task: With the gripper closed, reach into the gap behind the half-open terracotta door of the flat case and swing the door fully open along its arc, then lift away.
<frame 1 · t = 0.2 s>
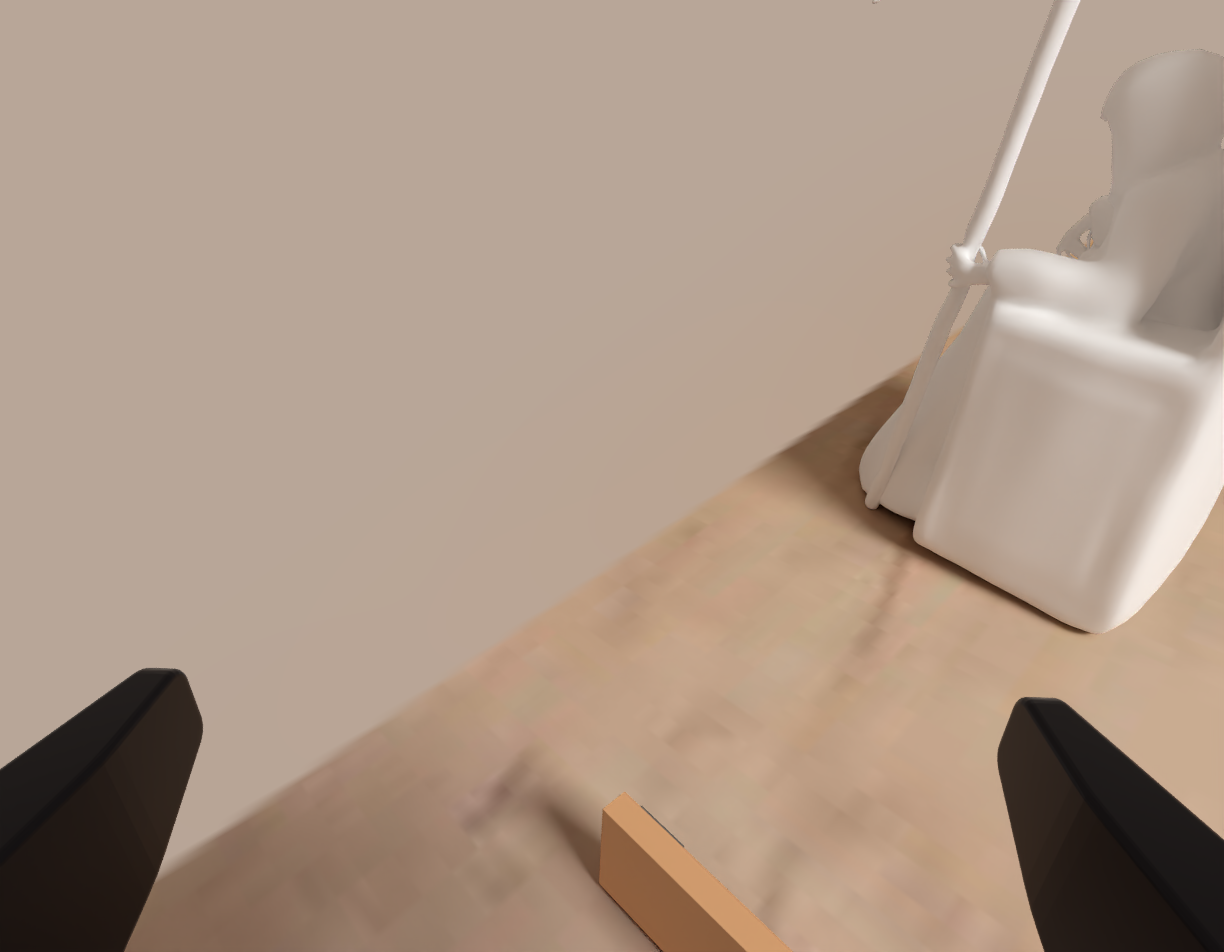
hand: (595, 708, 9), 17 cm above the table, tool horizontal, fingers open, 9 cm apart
religious statue: (995, 532, 40), on the table
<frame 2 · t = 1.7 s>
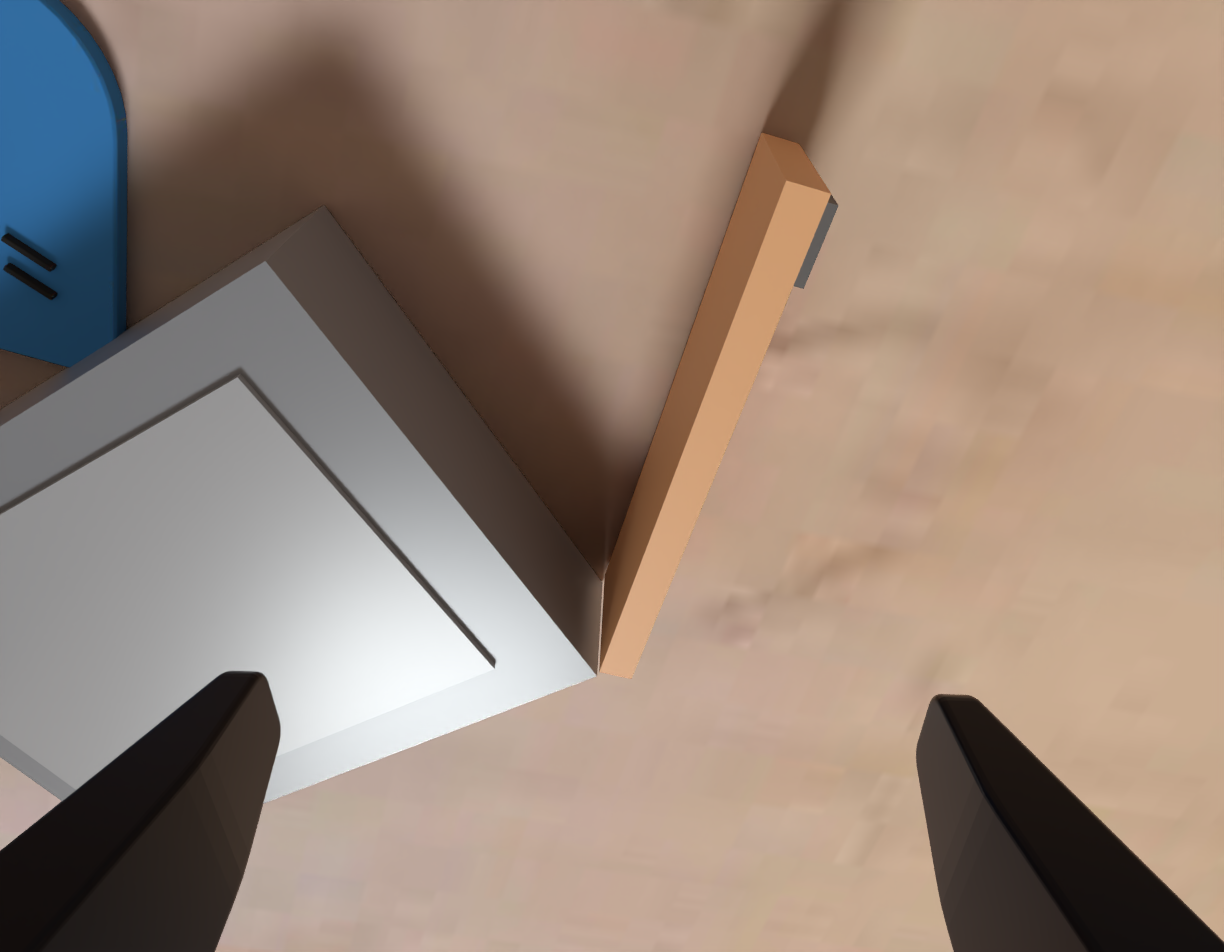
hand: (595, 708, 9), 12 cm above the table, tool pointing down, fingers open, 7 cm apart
case: (240, 540, 24), on the table
case door: (699, 433, 19), point 2 cm above the table, hinge at 45.0°
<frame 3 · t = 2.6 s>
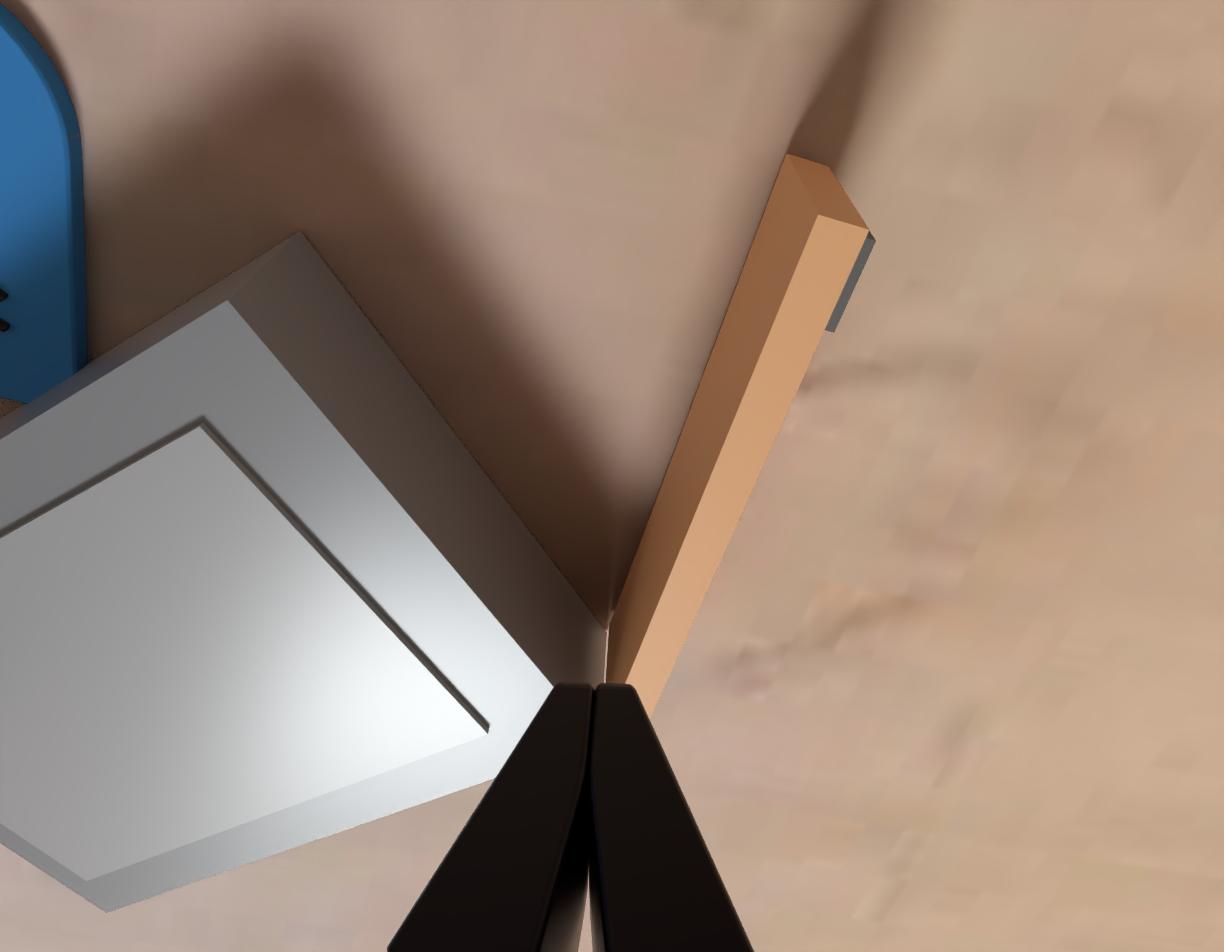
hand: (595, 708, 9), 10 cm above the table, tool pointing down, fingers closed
case: (216, 585, 22), on the table
case door: (713, 483, 17), point 2 cm above the table, hinge at 45.0°
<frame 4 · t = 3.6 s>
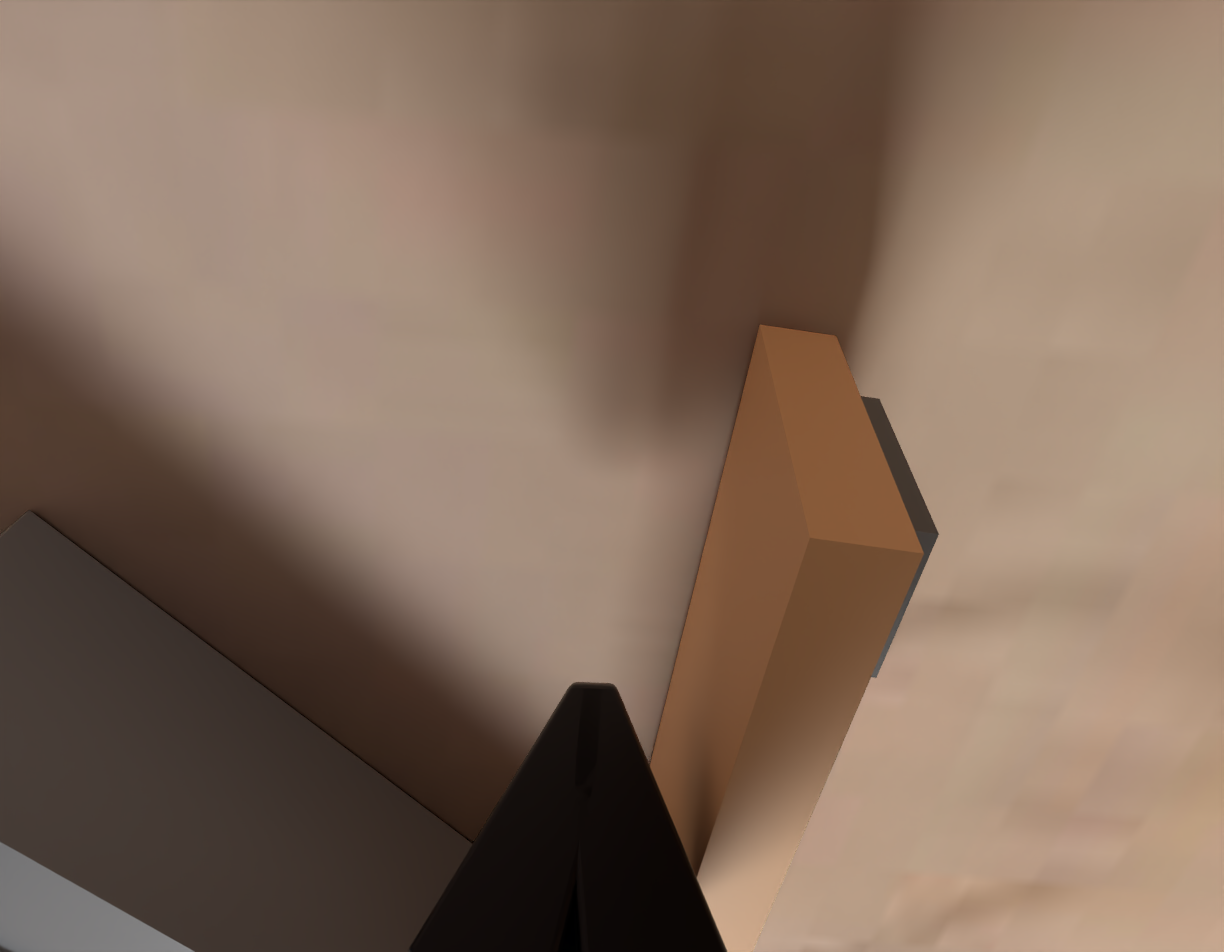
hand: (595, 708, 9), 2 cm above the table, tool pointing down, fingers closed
case: (75, 921, 16), on the table
case door: (710, 835, 11), point 2 cm above the table, hinge at 45.0°, touching gripper
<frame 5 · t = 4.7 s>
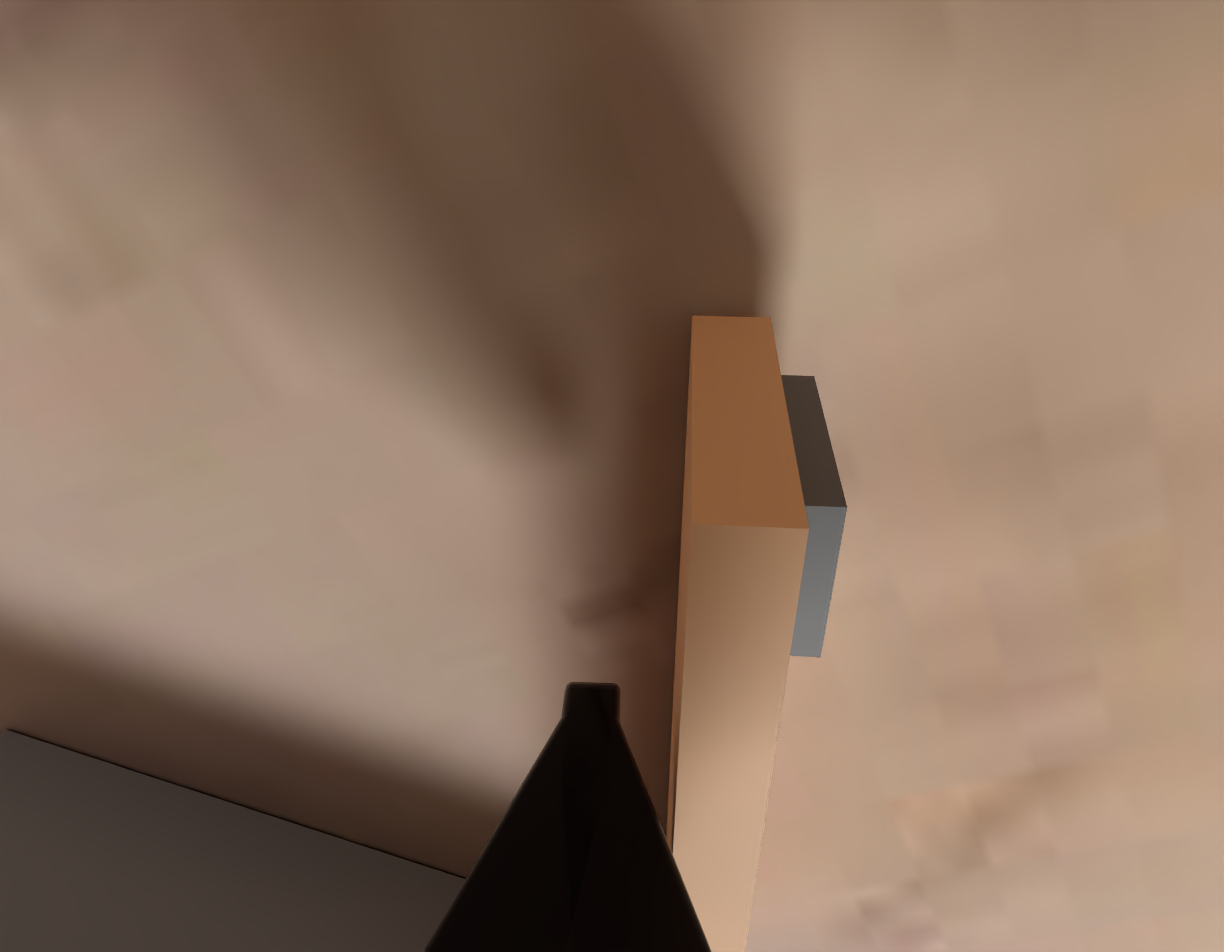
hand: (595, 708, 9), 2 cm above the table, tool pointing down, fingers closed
case door: (718, 827, 11), point 2 cm above the table, hinge at 65.3°, touching gripper
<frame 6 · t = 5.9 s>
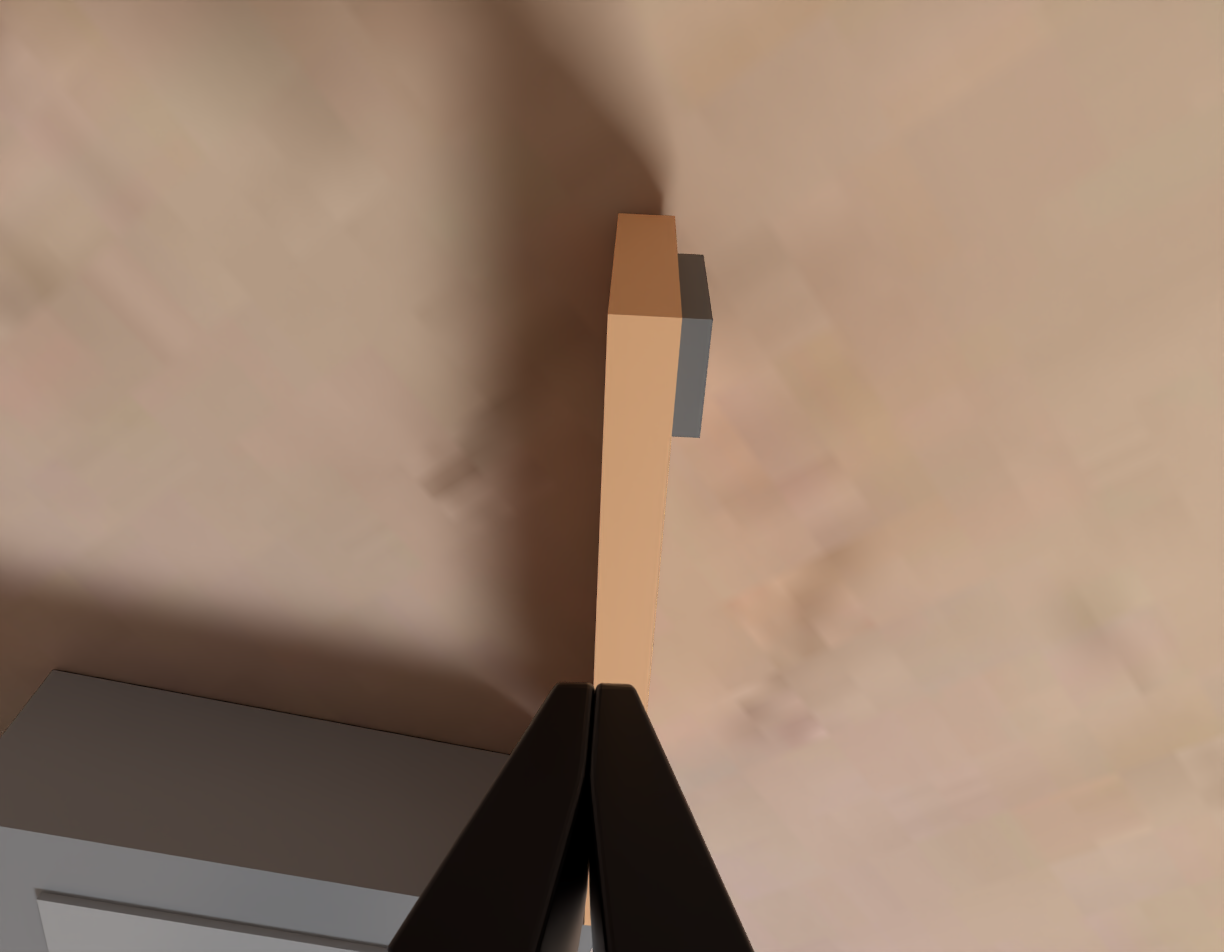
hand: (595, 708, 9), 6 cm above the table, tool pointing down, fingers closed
case: (320, 918, 23), on the table
case door: (636, 616, 14), point 2 cm above the table, hinge at 78.7°
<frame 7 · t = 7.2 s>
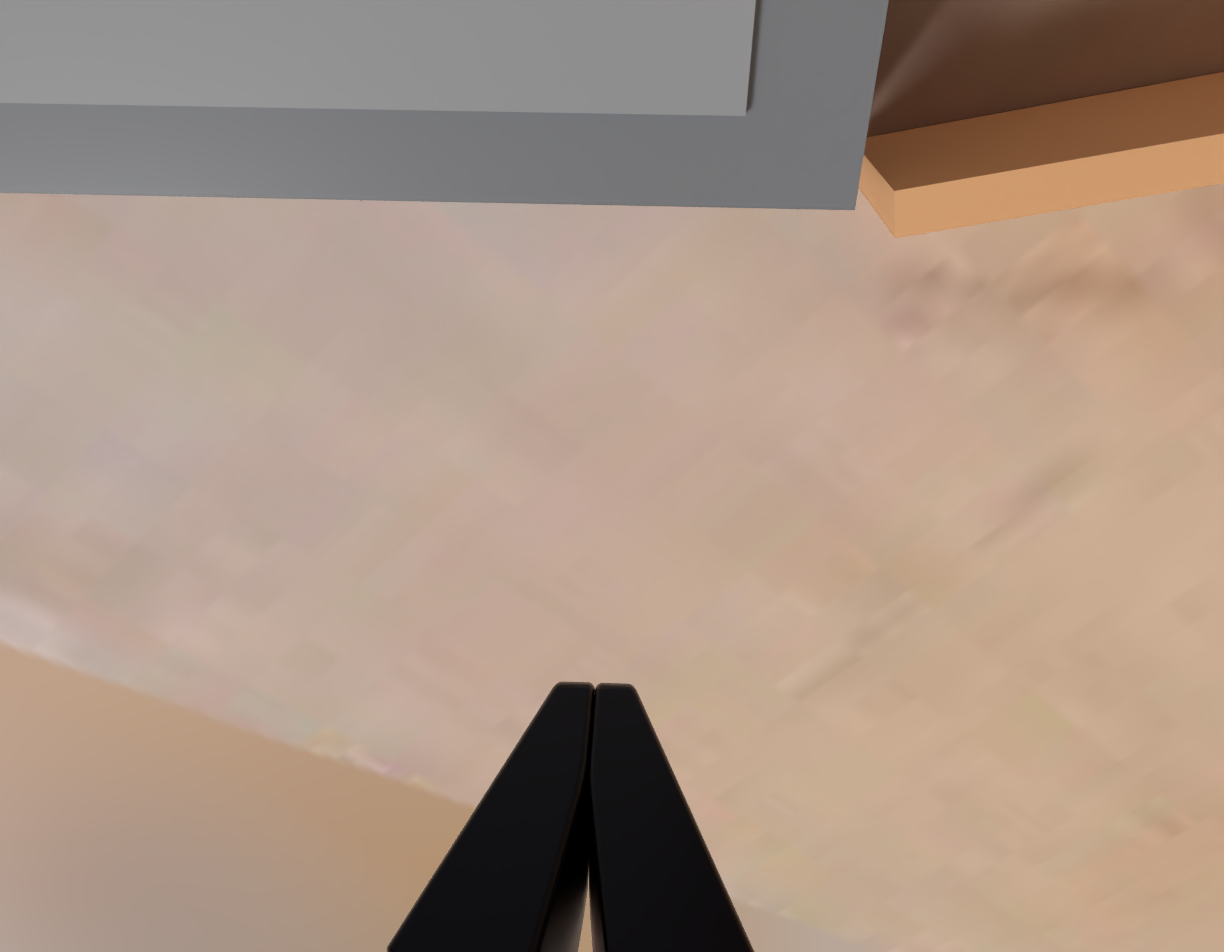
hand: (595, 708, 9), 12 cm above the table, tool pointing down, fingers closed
case door: (1220, 135, 15), point 2 cm above the table, hinge at 78.7°
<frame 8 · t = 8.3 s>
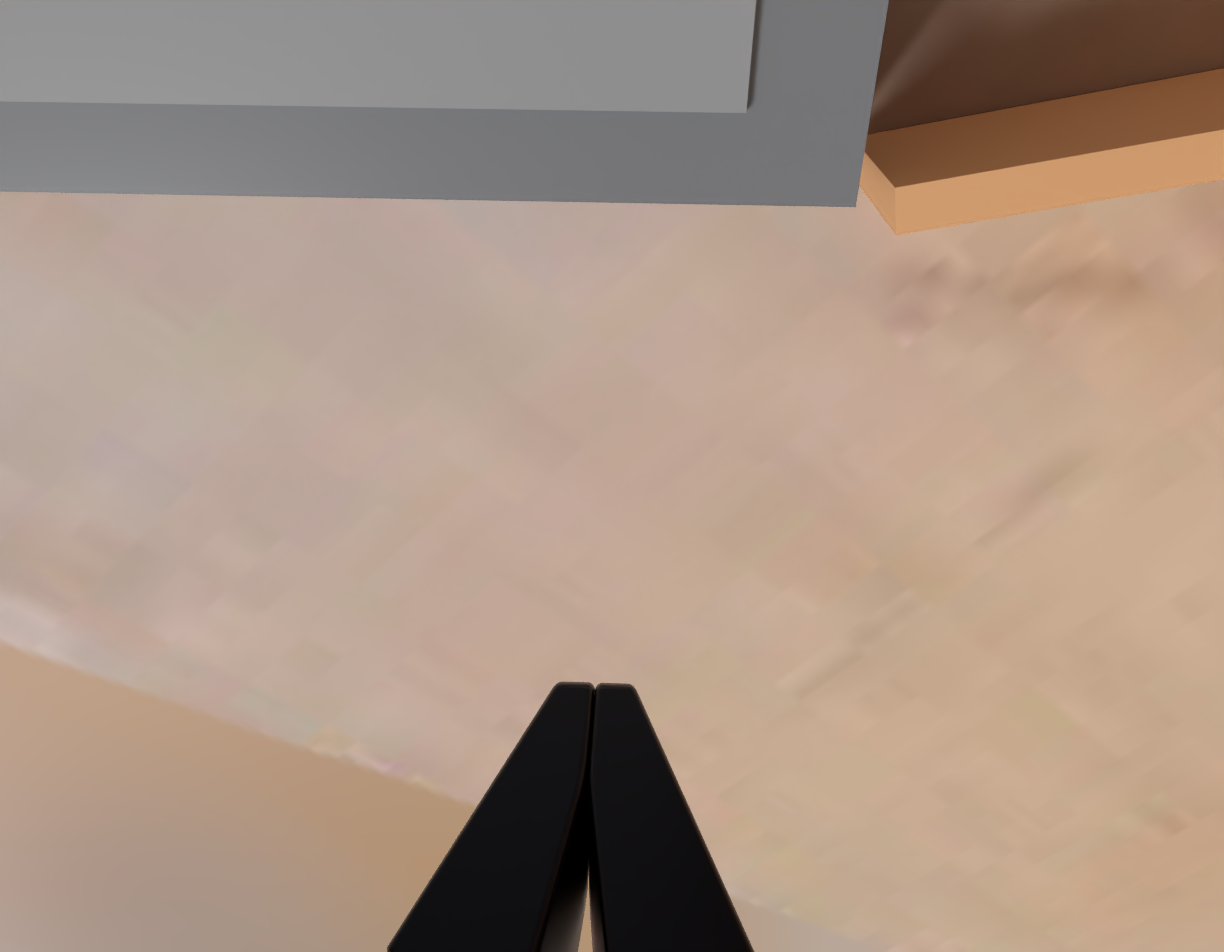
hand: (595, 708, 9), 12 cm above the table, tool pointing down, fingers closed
case door: (1221, 131, 15), point 2 cm above the table, hinge at 78.7°
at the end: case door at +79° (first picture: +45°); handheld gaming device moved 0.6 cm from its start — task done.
